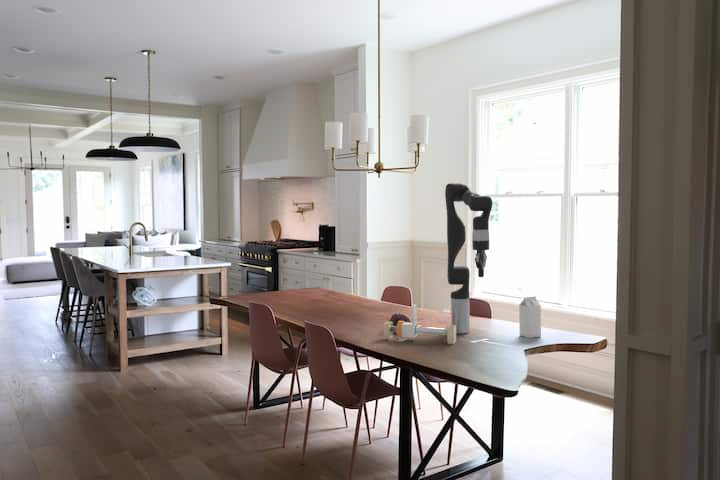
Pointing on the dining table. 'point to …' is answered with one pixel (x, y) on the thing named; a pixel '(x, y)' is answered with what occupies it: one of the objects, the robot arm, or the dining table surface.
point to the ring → (399, 329)
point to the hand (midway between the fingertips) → (481, 276)
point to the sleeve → (410, 324)
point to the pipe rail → (424, 331)
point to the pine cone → (398, 319)
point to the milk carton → (530, 317)
